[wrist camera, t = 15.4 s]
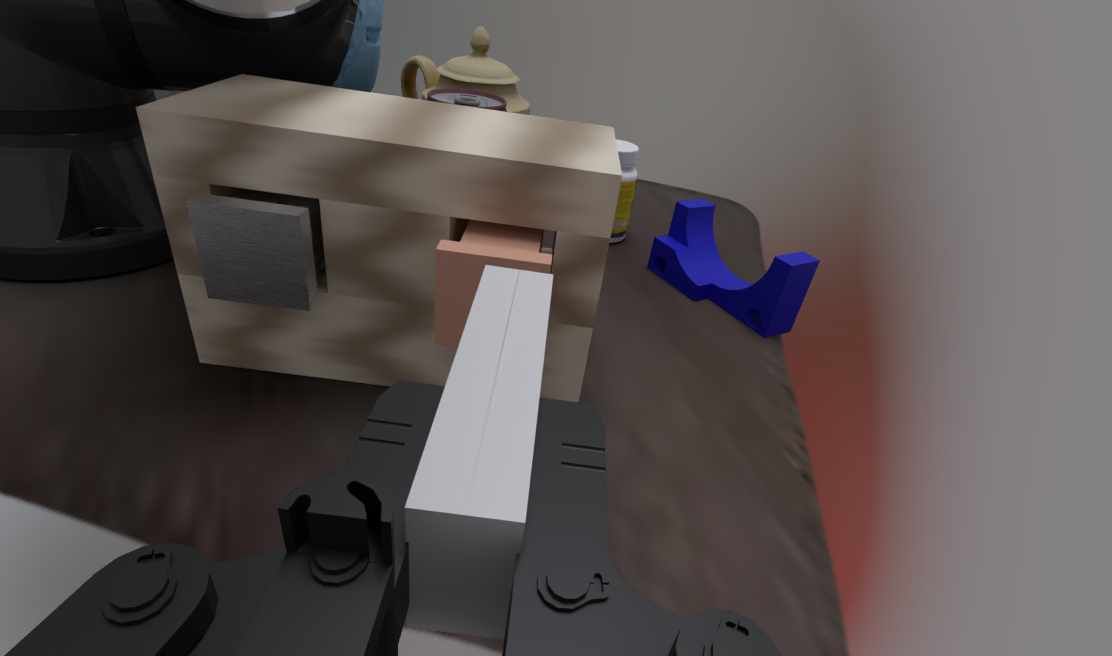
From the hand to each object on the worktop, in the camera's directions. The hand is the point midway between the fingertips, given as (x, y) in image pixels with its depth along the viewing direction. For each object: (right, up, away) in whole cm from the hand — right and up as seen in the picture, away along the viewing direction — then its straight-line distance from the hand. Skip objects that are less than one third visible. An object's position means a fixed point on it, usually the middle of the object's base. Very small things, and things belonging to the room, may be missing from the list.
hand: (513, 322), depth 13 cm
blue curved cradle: (+14, +2, +34) cm, 36 cm away
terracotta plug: (-2, +2, +18) cm, 19 cm away
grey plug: (-13, +4, +19) cm, 24 cm away
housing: (-8, -1, +23) cm, 24 cm away
